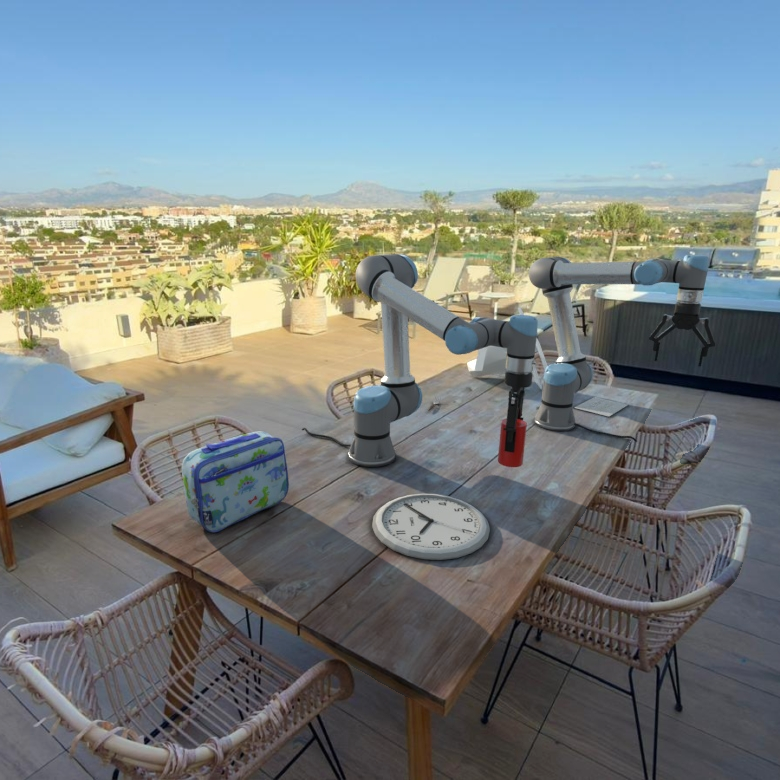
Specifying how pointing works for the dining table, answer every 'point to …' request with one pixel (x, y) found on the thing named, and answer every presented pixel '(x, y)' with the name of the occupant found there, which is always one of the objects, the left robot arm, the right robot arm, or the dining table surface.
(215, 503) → the lunch box
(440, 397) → the fork
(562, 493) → the dining table surface
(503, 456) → the can
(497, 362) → the white plastic object
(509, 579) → the dining table surface
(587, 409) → the invitation card
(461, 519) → the wall clock
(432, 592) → the dining table surface
